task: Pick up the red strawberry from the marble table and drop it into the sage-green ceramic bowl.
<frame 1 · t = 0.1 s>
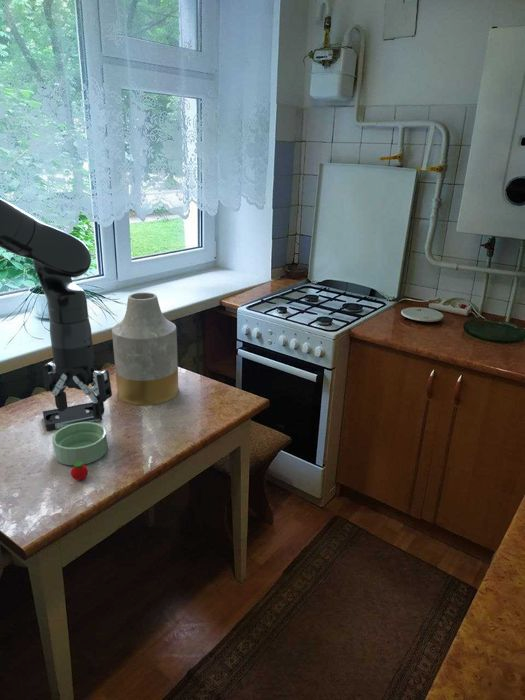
hand: (80, 413, 102), 18 cm above the table, tool pointing down, fingers open, 8 cm apart
bowl: (81, 452, 121), on the table
vhs tape: (73, 419, 136), on the table
vase: (148, 392, 153), on the table
strawberry: (80, 478, 112), on the table
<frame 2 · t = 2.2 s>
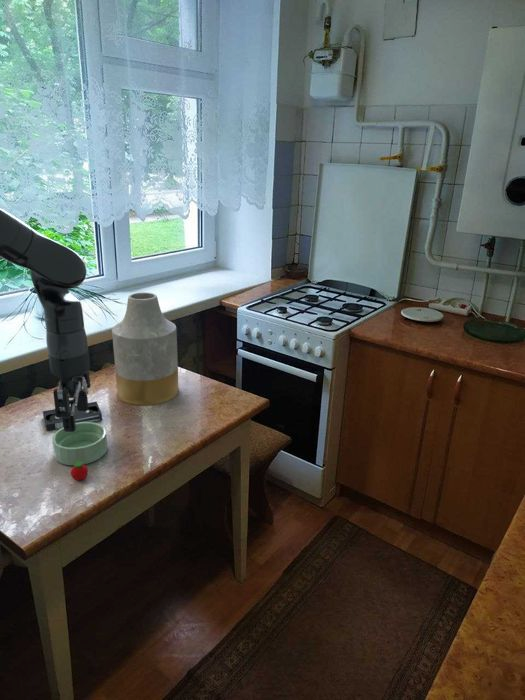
hand: (76, 420, 105), 16 cm above the table, tool pointing down, fingers open, 8 cm apart
nothing on the table moved.
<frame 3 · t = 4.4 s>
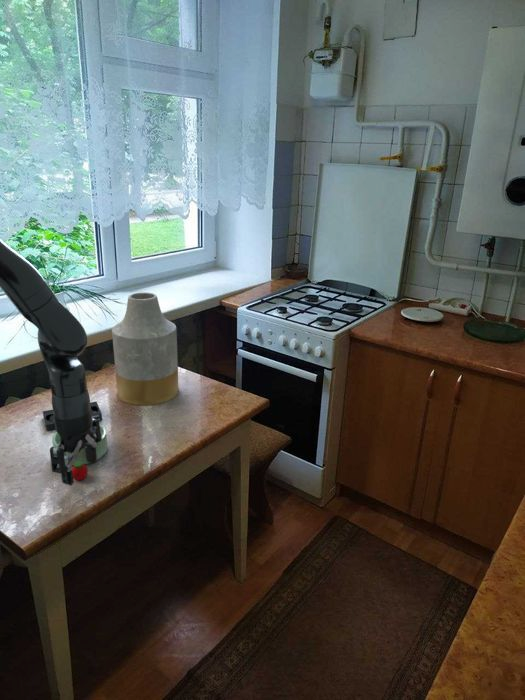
hand: (80, 472, 111), 2 cm above the table, tool pointing down, fingers open, 8 cm apart
nothing on the table moved.
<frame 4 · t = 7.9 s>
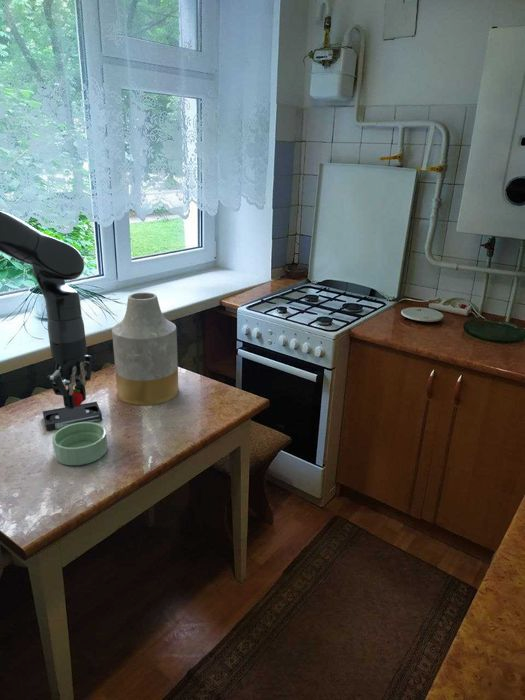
hand: (75, 403, 116), 13 cm above the table, tool pointing down, fingers closed on strawberry, 3 cm apart
strawberry: (73, 406, 116), point 13 cm above the table, tilted 25°, touching gripper
everything else where it was.
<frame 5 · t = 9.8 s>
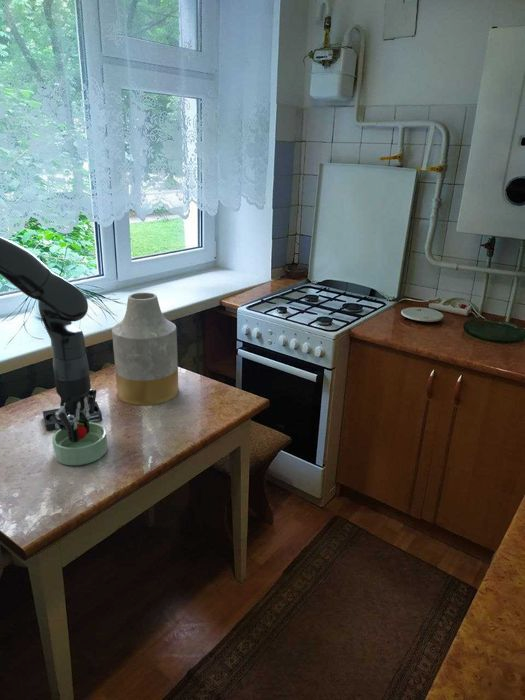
hand: (79, 436, 120), 4 cm above the table, tool pointing down, fingers closed on strawberry, 3 cm apart
strawberry: (77, 439, 119), point 4 cm above the table, tilted 25°, touching gripper
everything else where it was.
when the fingers open (2 cm above the table, at t = 10.7 s): strawberry moves 1 cm and tips over, resting on bowl.
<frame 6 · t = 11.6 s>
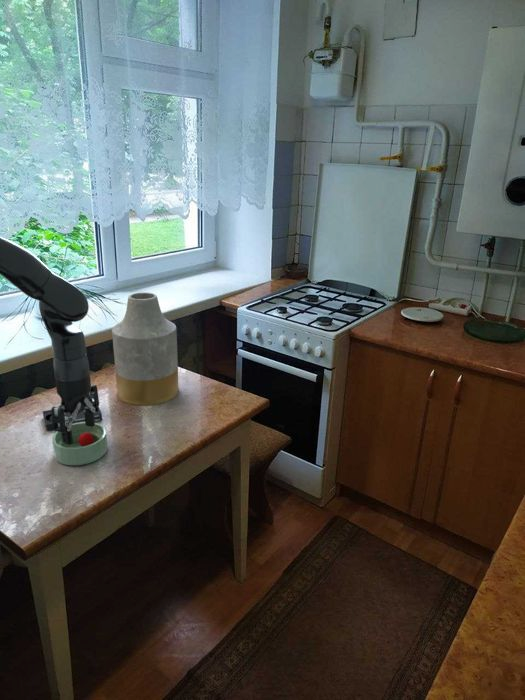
hand: (79, 434, 119), 5 cm above the table, tool pointing down, fingers open, 8 cm apart
strawberry: (81, 442, 121), point 3 cm above the table, tilted 97°, touching bowl
everything else where it was.
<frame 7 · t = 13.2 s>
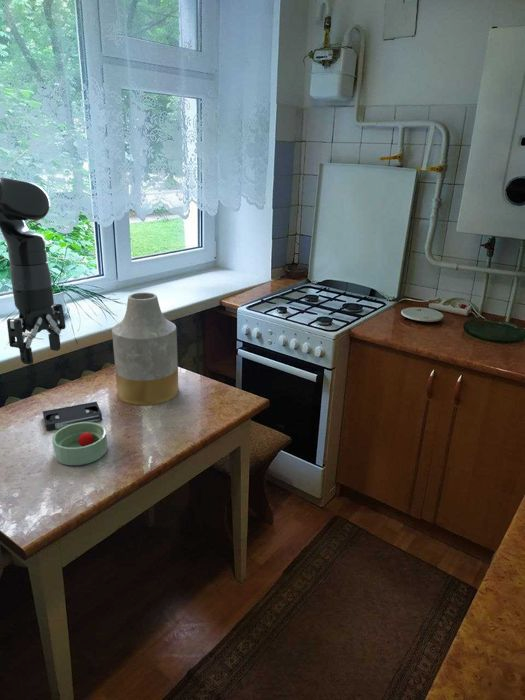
hand: (42, 356, 108), 27 cm above the table, tool pointing down, fingers open, 8 cm apart
nothing on the table moved.
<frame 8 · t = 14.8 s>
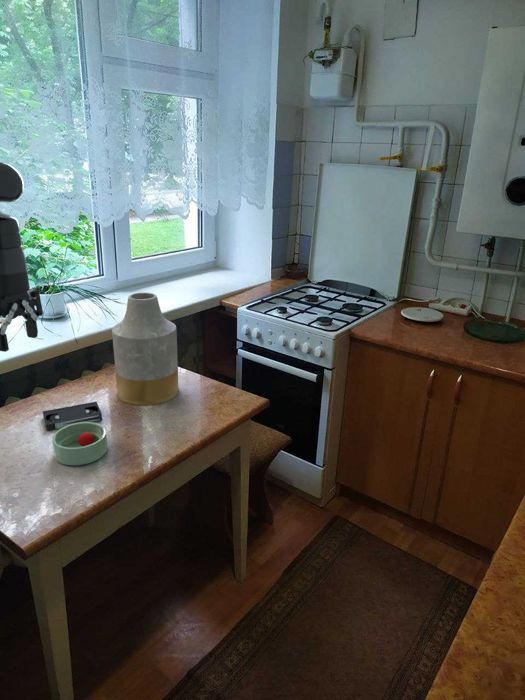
hand: (18, 343, 105), 30 cm above the table, tool pointing down, fingers open, 8 cm apart
nothing on the table moved.
at the end: strawberry inside the target area in the bowl (0.4 cm from its centre), point 2.5 cm above the bowl's base; the gripper is holding nothing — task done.
